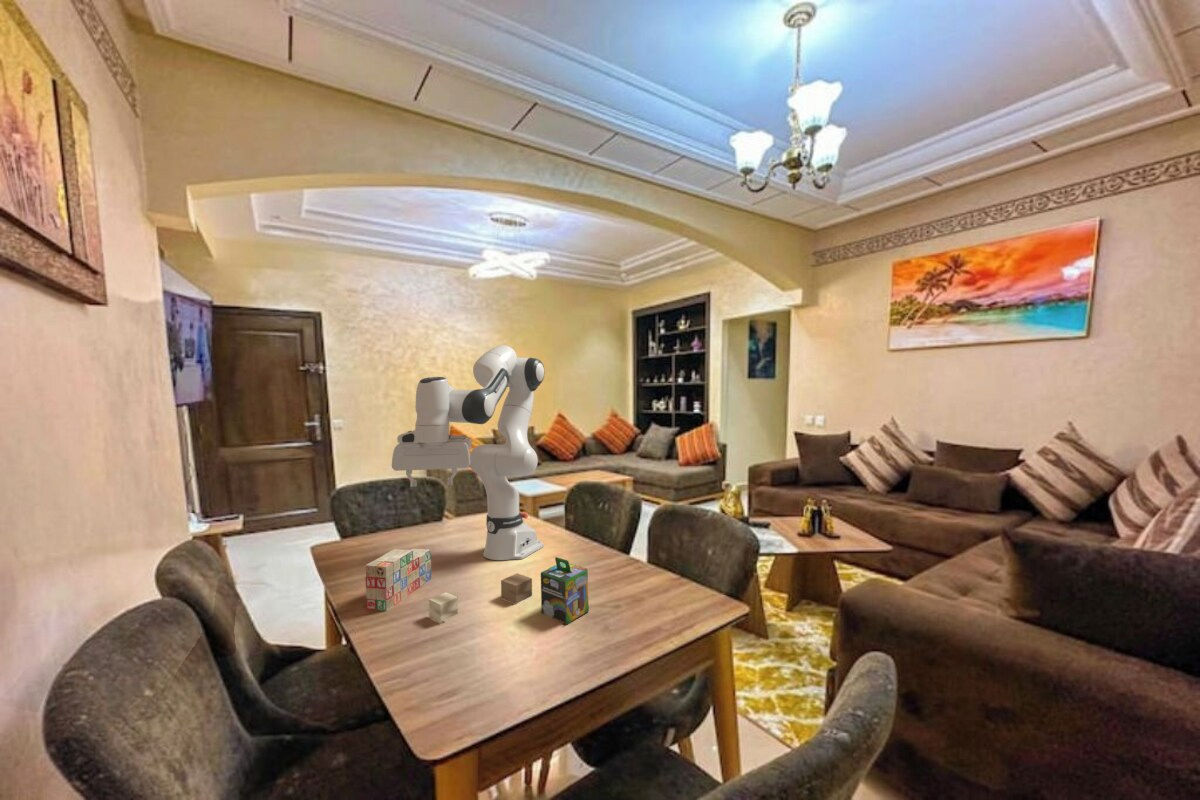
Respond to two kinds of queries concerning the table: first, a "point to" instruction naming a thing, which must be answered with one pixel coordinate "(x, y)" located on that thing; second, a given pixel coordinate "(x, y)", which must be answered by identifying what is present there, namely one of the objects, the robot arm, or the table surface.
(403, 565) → the stack of blocks
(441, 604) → the birch cube
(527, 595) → the walnut block
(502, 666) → the table surface
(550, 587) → the chalk box
